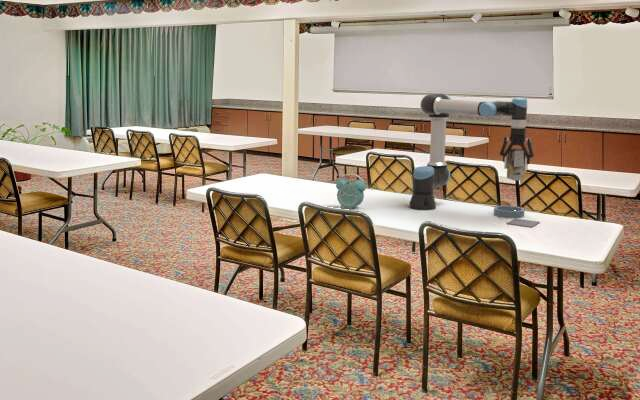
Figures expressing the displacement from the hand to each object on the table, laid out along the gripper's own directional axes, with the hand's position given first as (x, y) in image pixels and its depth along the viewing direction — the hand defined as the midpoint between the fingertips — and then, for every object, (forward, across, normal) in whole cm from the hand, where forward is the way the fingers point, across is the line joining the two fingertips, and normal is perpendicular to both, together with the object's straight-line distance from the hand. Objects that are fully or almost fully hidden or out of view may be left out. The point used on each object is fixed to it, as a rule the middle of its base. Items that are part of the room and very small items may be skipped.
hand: (515, 169), depth 329 cm
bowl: (+26, -4, +4) cm, 27 cm away
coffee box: (+5, 0, 0) cm, 5 cm away
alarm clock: (+26, -84, -32) cm, 94 cm away
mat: (+26, +9, -12) cm, 30 cm away
